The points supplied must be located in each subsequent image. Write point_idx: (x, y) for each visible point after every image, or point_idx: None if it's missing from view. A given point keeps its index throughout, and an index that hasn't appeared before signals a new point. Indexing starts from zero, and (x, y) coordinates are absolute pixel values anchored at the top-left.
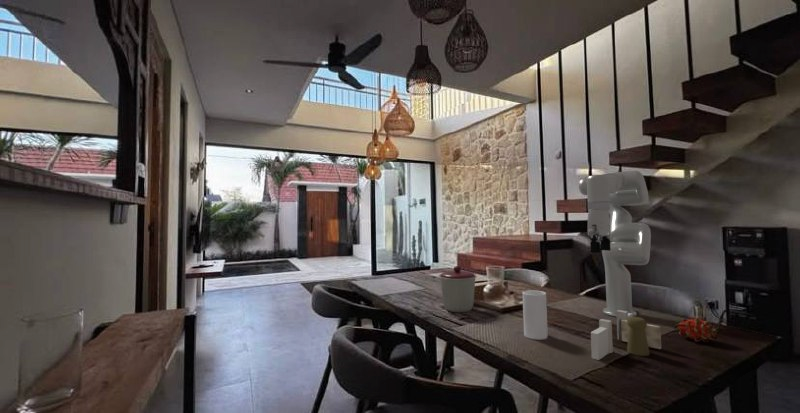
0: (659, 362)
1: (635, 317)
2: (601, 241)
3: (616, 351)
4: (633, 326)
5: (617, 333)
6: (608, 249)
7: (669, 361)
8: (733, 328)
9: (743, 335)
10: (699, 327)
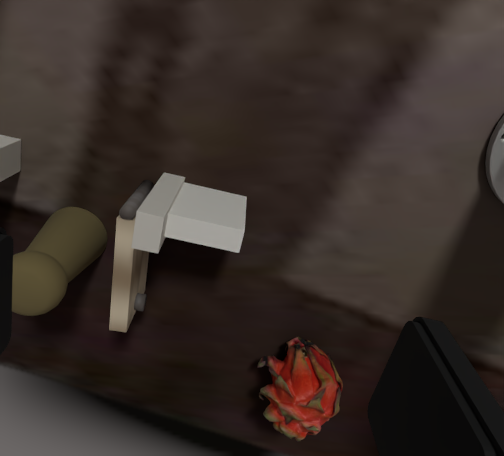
0: None
1: (23, 291)
2: (470, 447)
3: (33, 180)
4: None
5: (158, 180)
6: (374, 409)
7: None
8: None
9: None
10: (275, 404)
